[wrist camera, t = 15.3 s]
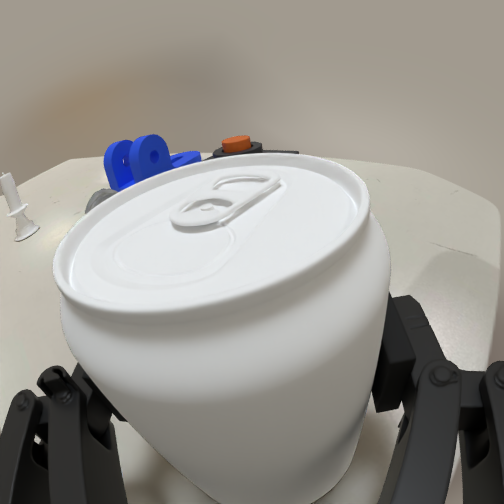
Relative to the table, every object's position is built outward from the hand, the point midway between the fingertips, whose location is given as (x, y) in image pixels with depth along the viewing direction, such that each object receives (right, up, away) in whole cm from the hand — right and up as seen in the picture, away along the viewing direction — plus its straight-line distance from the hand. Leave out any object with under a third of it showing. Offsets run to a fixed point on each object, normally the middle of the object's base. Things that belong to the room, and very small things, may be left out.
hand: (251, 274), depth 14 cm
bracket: (-15, +14, +40) cm, 45 cm away
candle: (-39, +4, +32) cm, 51 cm away
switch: (-2, +15, +30) cm, 34 cm away
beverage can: (+1, -8, -1) cm, 8 cm away
